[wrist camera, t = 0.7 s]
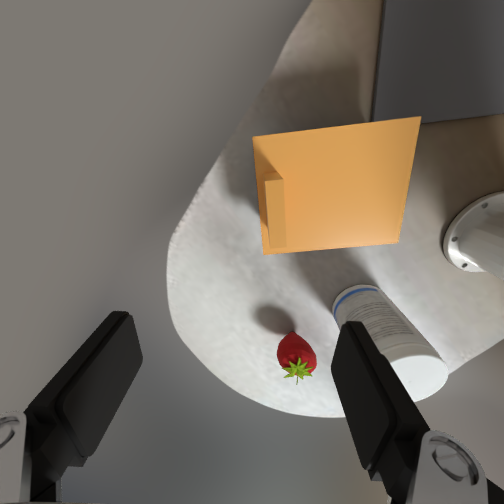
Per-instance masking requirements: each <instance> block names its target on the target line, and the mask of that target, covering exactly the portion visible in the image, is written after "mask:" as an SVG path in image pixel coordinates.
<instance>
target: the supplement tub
mask: <svg viewBox="0 0 504 504" xmlns="http://www.w3.org/2000/svg"><path fill="white" fill-rule="evenodd" d="M332 312H333V316H334V319H335V321H336V323H337V325H338V327H339V329H340V330H341V326H342V324H345V323H346V321H361V322H362V323H363V324H364V326H365V328H366V329H367V331H368V333H369V334H370V336H371V338H372V340H373V341H374V343H375V345H376V346H377V348H378V350H379V351H380V353H381V354H383V355H384V356H385V357H386V358H387V359H388V361H389V362H390V364H391V366H392V367H393V369H394V371H395V372H396V374H397V376H398V377H399V379H400V380H401V382H402V384H403V385H404V387H405V389H406V390H407V392H408V394H409V395H410V397H411V399H412V400H413V402H416V401H419V400H422V399H424V398H427V397H429V396H431V395H432V394H434V393H435V392H437V391H438V390H439V389H440V388H441V387H442V386H443V385H444V384H445V382H446V380H447V378H448V367H447V365H446V363H445V362H444V361H443V360H442V358H441V357H440V355H439V354H438V352H437V351H436V350H435V349H434V348H433V347H432V346H431V344H430V343H429V342H428V341H427V340H426V339H425V338H424V337H423V335H422V334H421V333H420V332H419V331H418V330H417V329H416V328H415V326H414V325H413V324H412V323H411V322H410V321H409V320H408V319H407V318H406V316H405V315H404V314H403V313H402V312H401V311H400V310H399V309H398V308H397V306H396V305H395V304H394V303H393V302H392V301H391V300H390V299H389V298H388V297H387V295H386V294H385V293H384V292H383V291H382V290H380V289H379V288H377V287H375V286H371V285H356V286H352V287H350V288H347V289H346V290H344V291H343V292H341V293H340V294H339V295H338V296H337V298H336V299H335V301H334V303H333V307H332Z"/></svg>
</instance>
